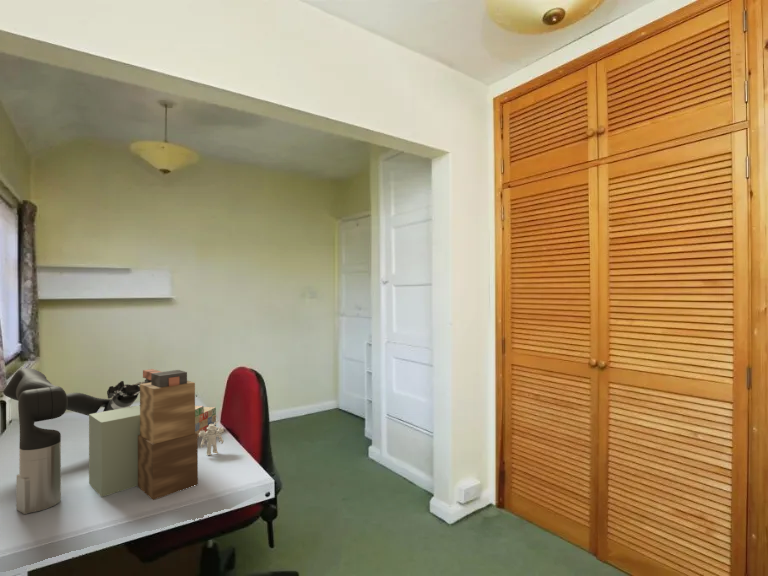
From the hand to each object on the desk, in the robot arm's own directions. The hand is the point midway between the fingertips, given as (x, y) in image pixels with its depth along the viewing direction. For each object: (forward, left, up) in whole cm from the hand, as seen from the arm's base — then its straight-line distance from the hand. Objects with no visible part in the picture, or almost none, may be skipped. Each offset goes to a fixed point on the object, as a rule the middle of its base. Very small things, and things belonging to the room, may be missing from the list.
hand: (136, 381), depth 152 cm
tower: (-5, -28, -29) cm, 41 cm away
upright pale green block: (-6, -13, -29) cm, 33 cm away
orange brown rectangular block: (-4, -22, +3) cm, 23 cm away
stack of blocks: (+30, +10, -29) cm, 43 cm away
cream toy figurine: (+19, -16, -29) cm, 39 cm away
